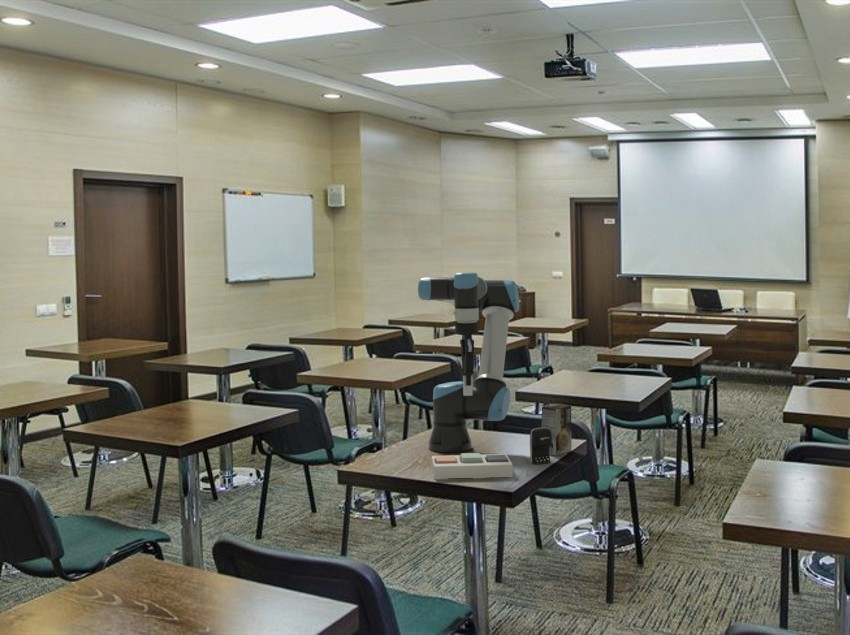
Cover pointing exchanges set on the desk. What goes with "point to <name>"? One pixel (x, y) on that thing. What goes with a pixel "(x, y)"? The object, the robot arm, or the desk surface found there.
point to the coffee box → (558, 427)
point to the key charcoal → (496, 458)
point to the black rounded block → (540, 445)
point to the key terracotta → (445, 459)
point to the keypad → (472, 468)
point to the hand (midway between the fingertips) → (468, 395)
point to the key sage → (471, 458)
